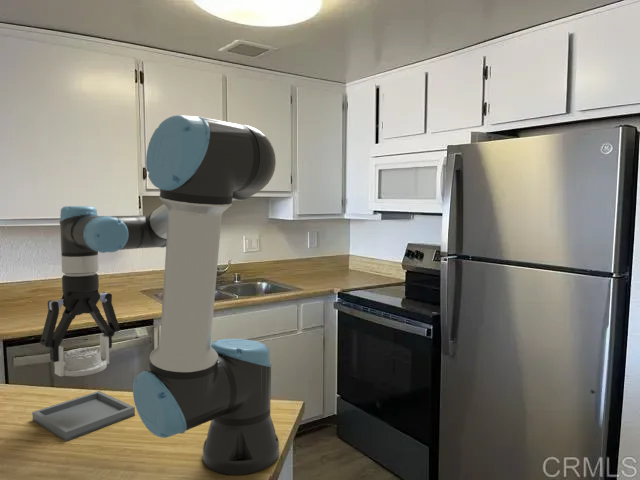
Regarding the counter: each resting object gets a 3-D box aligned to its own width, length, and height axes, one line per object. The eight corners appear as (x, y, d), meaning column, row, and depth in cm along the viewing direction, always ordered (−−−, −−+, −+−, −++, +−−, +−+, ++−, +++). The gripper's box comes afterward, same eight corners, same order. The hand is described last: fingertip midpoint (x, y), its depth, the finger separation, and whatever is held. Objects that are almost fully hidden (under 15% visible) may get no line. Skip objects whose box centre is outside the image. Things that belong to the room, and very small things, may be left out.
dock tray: (134, 415, 115) (134, 407, 115) (66, 441, 102) (65, 432, 102) (99, 398, 125) (99, 390, 124) (32, 420, 112) (32, 411, 112)
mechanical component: (48, 375, 108) (88, 379, 107) (48, 356, 108) (87, 359, 106) (78, 361, 118) (115, 364, 116) (78, 343, 118) (115, 346, 116)
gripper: (117, 267, 122) (119, 353, 124) (19, 277, 104) (23, 378, 106) (134, 269, 117) (135, 359, 119) (35, 281, 99) (38, 386, 101)
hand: (82, 368), depth 112 cm, fingers closed on mechanical component, 10 cm apart
